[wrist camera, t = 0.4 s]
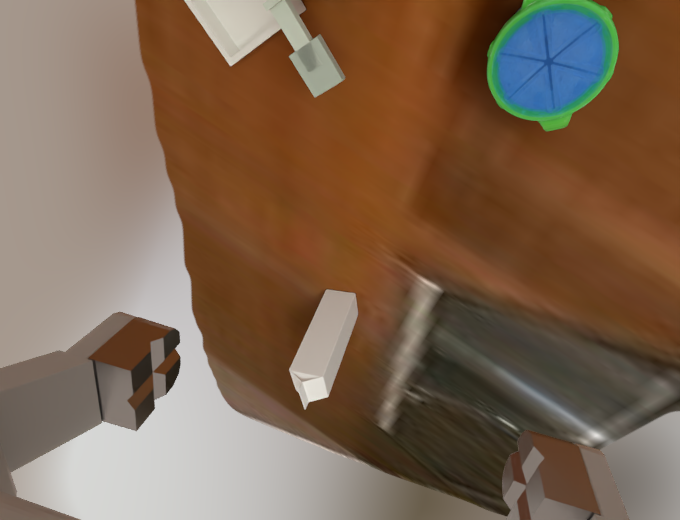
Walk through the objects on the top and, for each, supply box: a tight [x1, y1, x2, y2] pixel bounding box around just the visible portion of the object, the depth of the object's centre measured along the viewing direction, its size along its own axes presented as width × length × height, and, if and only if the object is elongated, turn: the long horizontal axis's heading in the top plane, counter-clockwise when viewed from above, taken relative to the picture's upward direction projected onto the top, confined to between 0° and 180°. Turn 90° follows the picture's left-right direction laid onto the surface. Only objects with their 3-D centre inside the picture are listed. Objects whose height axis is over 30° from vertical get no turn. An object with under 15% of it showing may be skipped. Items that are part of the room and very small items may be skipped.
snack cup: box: [487, 0, 619, 131], centre depth 41 cm, size 16×10×10 cm
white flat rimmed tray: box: [184, 0, 306, 66], centre depth 51 cm, size 12×10×3 cm
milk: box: [289, 289, 358, 409], centre depth 76 cm, size 6×6×22 cm
